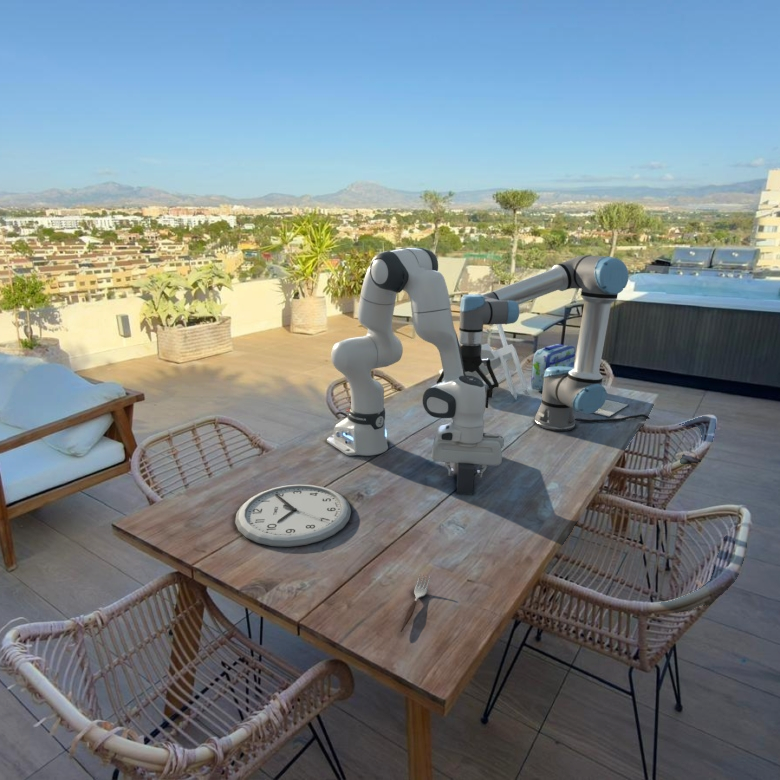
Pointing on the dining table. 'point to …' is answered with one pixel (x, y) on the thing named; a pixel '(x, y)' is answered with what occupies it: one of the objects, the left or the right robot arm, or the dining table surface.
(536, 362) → the lunch box
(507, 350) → the white plastic object
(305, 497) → the wall clock
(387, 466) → the dining table surface
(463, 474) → the beam
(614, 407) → the invitation card
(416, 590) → the fork
